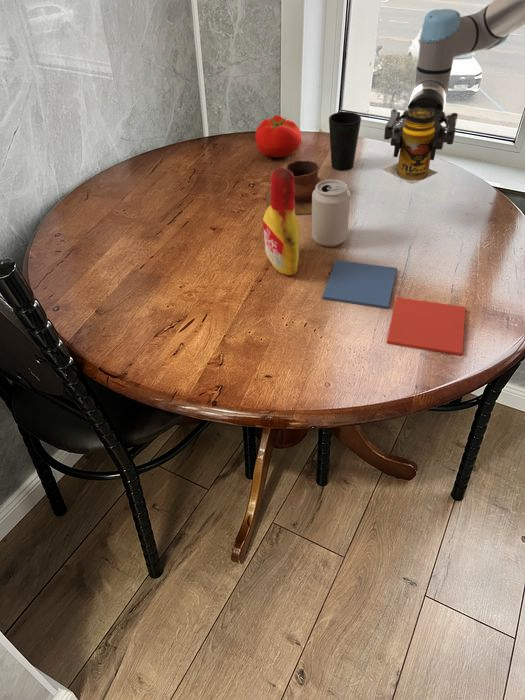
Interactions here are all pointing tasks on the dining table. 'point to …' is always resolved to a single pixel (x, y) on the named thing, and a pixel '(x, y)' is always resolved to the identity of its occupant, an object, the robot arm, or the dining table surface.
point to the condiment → (415, 147)
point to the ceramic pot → (302, 185)
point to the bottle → (282, 224)
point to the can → (330, 212)
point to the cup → (343, 139)
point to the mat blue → (360, 284)
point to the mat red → (427, 326)
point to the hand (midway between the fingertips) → (414, 151)
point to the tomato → (277, 137)
